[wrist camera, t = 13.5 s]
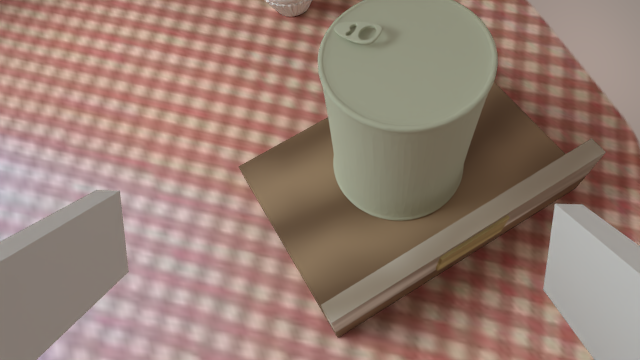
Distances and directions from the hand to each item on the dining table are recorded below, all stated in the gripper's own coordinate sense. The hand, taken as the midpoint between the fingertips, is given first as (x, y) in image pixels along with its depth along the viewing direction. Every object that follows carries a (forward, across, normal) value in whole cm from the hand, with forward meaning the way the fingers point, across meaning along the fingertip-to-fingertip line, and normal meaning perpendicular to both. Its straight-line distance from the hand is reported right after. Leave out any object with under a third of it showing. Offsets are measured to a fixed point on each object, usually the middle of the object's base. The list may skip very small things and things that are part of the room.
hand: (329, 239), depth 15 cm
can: (+21, +4, -2) cm, 22 cm away
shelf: (+22, +4, -4) cm, 23 cm away
